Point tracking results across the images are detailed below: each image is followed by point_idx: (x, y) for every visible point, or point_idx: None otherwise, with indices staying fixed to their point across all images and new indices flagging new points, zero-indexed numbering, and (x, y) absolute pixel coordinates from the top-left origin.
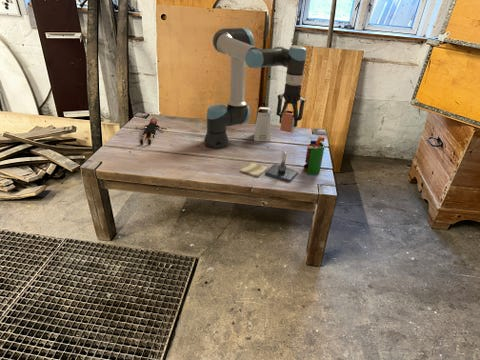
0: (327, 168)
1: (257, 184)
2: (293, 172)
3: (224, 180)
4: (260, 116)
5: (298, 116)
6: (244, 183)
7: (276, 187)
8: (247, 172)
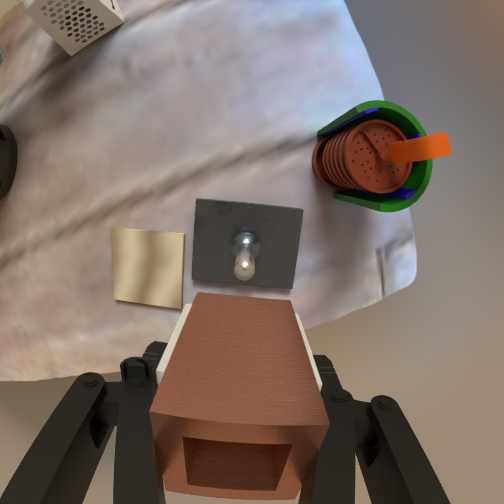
0: None
1: None
2: (289, 231)
3: (114, 358)
4: None
5: (361, 465)
6: None
7: None
8: (140, 302)
